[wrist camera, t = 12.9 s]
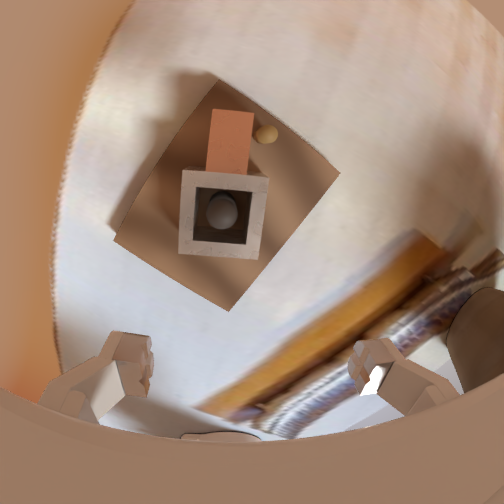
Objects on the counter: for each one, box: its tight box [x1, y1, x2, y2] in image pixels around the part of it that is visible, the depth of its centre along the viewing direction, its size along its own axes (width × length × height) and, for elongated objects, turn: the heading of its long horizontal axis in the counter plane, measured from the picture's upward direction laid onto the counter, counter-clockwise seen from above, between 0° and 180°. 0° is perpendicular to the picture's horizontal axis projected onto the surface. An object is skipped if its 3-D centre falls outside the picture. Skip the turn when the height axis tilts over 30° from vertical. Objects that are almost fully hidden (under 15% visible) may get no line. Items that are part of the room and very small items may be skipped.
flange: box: [178, 109, 269, 260], centre depth 21 cm, size 11×6×4 cm, turn 173°
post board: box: [113, 80, 340, 312], centre depth 23 cm, size 18×14×6 cm
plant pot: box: [447, 287, 504, 393], centre depth 27 cm, size 25×25×22 cm
